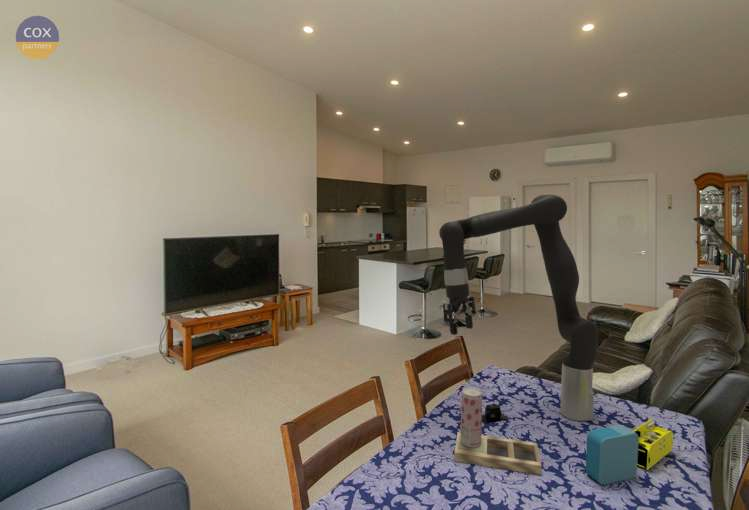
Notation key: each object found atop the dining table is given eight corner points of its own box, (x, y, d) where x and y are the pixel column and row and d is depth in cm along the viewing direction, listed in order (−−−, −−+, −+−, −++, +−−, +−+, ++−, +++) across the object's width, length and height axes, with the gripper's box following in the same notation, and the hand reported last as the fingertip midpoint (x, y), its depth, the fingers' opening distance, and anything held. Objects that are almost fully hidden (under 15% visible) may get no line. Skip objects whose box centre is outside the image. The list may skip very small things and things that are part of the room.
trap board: (536, 451, 112) (536, 442, 111) (541, 475, 101) (541, 465, 101) (457, 439, 118) (457, 431, 118) (454, 461, 107) (454, 451, 107)
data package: (621, 467, 104) (623, 423, 104) (637, 477, 100) (639, 432, 99) (584, 475, 101) (586, 430, 100) (599, 486, 97) (601, 439, 96)
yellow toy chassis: (650, 443, 116) (651, 416, 115) (673, 453, 111) (675, 424, 110) (624, 462, 107) (626, 433, 106) (648, 473, 102) (650, 442, 101)
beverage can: (484, 447, 109) (486, 394, 108) (465, 449, 108) (466, 396, 107) (475, 436, 115) (476, 386, 113) (457, 438, 114) (458, 388, 112)
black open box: (502, 411, 136) (503, 399, 136) (515, 422, 129) (516, 408, 129) (470, 416, 133) (471, 403, 132) (482, 427, 126) (482, 414, 125)
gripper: (452, 286, 121) (458, 337, 122) (478, 279, 131) (484, 327, 132) (433, 286, 127) (439, 335, 128) (459, 279, 137) (465, 325, 137)
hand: (462, 331), depth 130 cm, fingers open, 8 cm apart
